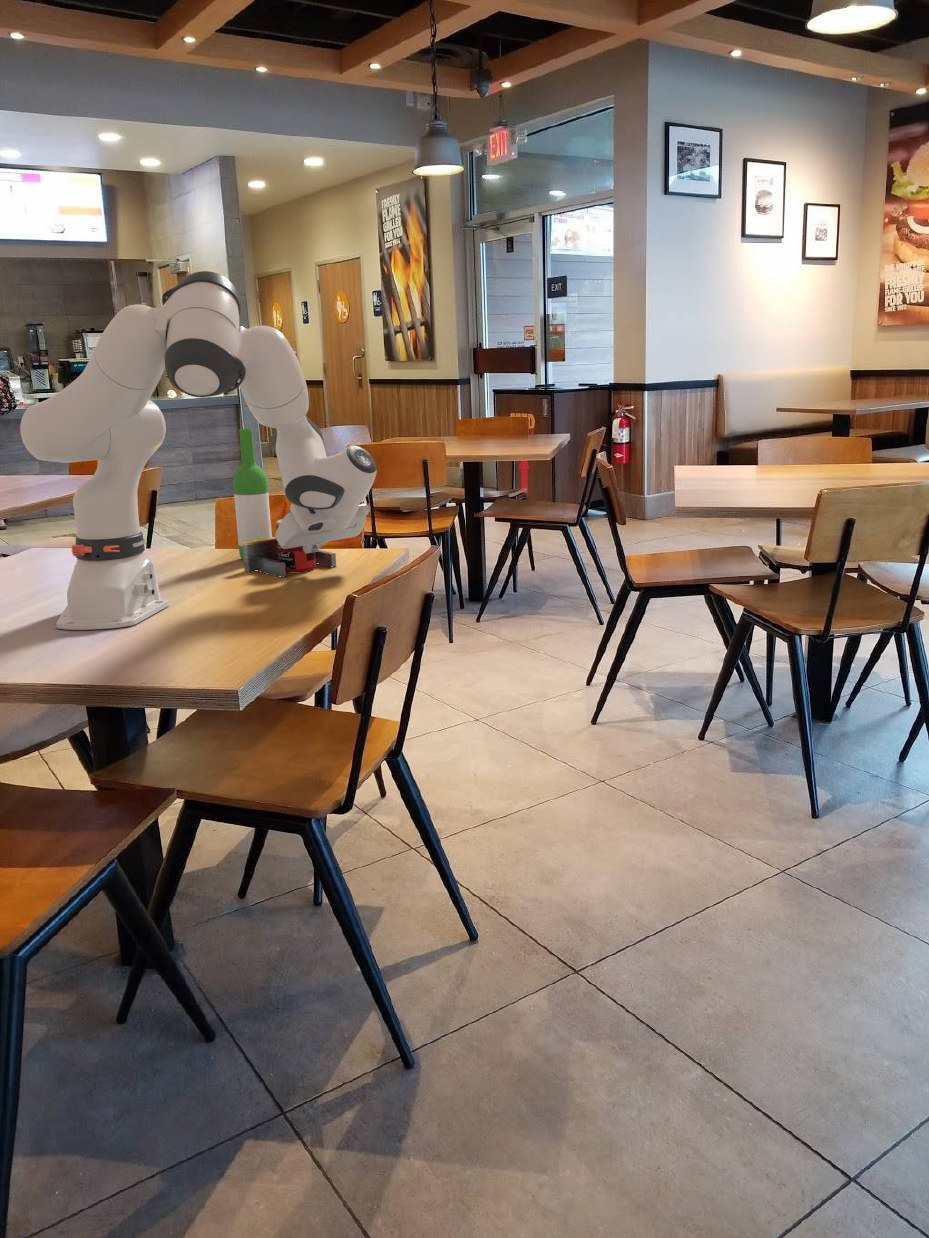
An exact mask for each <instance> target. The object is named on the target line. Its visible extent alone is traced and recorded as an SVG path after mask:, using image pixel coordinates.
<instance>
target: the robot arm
mask: <svg viewBox="0 0 929 1238" xmlns="http://www.w3.org/2000/svg"><path fill="white" fill-rule="evenodd" d="M240 302H241V301H240V297H239V293H238V292H237V289H236V287H235V285H234V284H233V283H232V282H231V281H230V280H229V279H228V278H227V277H226V276H224V275H222V274H219V273H218V272H213V271H208V270H206V271H205V270H204V271H203V270H202V271H197V272H192V273H190V274H189V275H187V276H185V277H184V278H182V279H181V280H180V281H179V282H178V283H177V284H176V285H175V286H173V287H172V288H169V289H167V290H166V291H165V292H164V293H163V294H162V297H161V303H162V305H161V306H160V307H151V306H148V305H144V304H139V303H138V304H137V303H136V304H130V305H127V306H125V307H123V308H122V309H120V310H119V311H118V312H117V314H115V315H114V317H113V318H112V319H111V320H110V322H109V323H108V324H107V325H106V327H105V329H104V331H103V332H102V334H101V335H100V337H99V338H98V339H99V340H98V341H97V343H96V345H95V348H94V350H93V353H92V354H91V357H90V358H89V360H88V361H87V364H86V366H85V367H84V369H83V371H82V372H81V373H80V375H79V376H77V378H75V379H74V380H73V381H72V382H70V383H69V384H68V385H67V386H66V387H64V388H63V389H62V390H60V391H58V392H57V393H55V394H54V395H52V396H51V397H49V398H47V399H45V400H42V401H40V402H37V403H35V404H33V405H30V406H28V407H27V409H26V410H25V412H24V413H23V415H22V417H21V421H20V426H19V429H20V431H19V432H20V437H21V440H22V443H23V445H24V446H25V449H26V450H27V451H28V452H29V453H30V455H31V456H33V457H34V458H35V459H36V460H38V461H43V462H53V463H64V464H67V463H68V464H69V463H78V462H80V463H81V462H88V461H97V466H96V467H97V468H96V469H95V472H94V474H93V475H92V477H91V478H90V479H88V480H87V481H86V482H84V483H83V484H81V485H80V486H79V487H78V488H77V489H76V491H75V492H74V495H73V499H72V506H73V513H74V520H75V528H76V537H75V544H72V546H71V554H72V556H73V557H75V558H76V563H75V565H74V568H73V570H72V573H71V576H70V580H69V583H68V587H67V589H66V600H67V605H66V607H65V608H64V610H63V611H62V613H61V614H60V617H58V619H57V621H56V623H55V625H56V629H61V630H71V631H72V630H73V631H74V630H75V631H76V630H77V631H79V630H81V631H82V630H85V631H86V630H105V629H118V628H126V627H130V626H135V625H137V624H138V623H141V622H143V621H145V620H146V619H147V618H150V617H151V616H153V615H155V614H156V613H158V612H160V611H162V610H164V609H166V608H168V607H169V605H170V604H169V601H168V599H166V598H161V594H160V590H159V589H160V588H159V583H158V577H157V571H156V567H155V563H154V562H153V561H152V560H150V559H149V558H148V557H147V556H146V554H145V553H144V551H145V550H146V547H145V544H146V543H145V538H144V534H143V531H141V527H140V520H139V519H140V517H139V504H138V501H139V499H138V490H139V484H140V479H141V476H142V474H143V471H144V468H145V466H146V464H147V462H148V461H149V459H150V458H151V457H152V456H153V454H154V453H155V452H156V451H157V450H158V449H159V448H160V447H161V446H162V444H163V442H164V440H165V437H166V434H167V433H166V432H167V425H166V418H165V417H164V414H163V412H162V411H161V409H160V408H159V406H158V405H157V404H156V403H155V402H153V401H152V400H150V398H151V397H152V395H153V393H154V391H155V390H156V387H157V386H158V385H159V382H160V380H161V378H162V376H163V374H164V371H165V373H166V376H167V379H168V381H169V382H170V383H169V384H171V386H173V387H174V388H175V389H177V390H178V391H179V392H181V393H183V394H186V395H188V396H191V397H195V398H210V397H216V396H220V395H222V394H224V393H230V392H232V391H235V390H236V389H237V388H238V387H239V389H240V391H241V394H242V396H243V399H244V401H245V404H246V405H247V407H248V409H249V411H250V413H251V414H252V416H253V417H254V418H255V420H256V421H257V422H258V423H259V424H260V425H262V426H264V427H268V428H271V429H274V433H273V436H272V446H273V450H274V452H275V455H276V458H277V463H278V467H279V473H280V477H281V481H282V482H281V483H282V486H283V491H284V494H285V497H286V499H287V500H288V501H289V502H290V503H291V504H290V505H289V510H290V512H289V513H287V514H286V515H285V516H284V517H283V518H282V519H283V520H282V522H281V523H280V525H279V527H278V529H277V528H276V532H275V534H274V535H275V536H274V537H276V539H277V541H278V543H279V544H280V546H281V547H282V548H283V549H288V548H294V547H300V546H303V550H304V552H305V554H307V553H312V552H317V551H318V550H320V549H321V548H322V547H324V546H325V545H326V544H327V543H328V542H332V541H339V540H345V539H349V538H350V539H351V538H355V537H358V535H360V534H361V533H362V531H363V529H364V528H365V526H366V525H365V524H366V522H367V515H369V513H370V511H371V506H370V505H368V504H366V503H362V502H363V501H364V500H365V498H367V496H368V494H369V492H370V490H371V489H372V487H373V484H374V482H375V480H376V476H377V473H378V472H377V471H378V469H377V464H376V462H375V459H374V458H373V457H372V455H371V454H370V453H369V452H368V451H367V450H366V449H365V448H362V447H361V446H359V445H355V444H354V445H352V444H351V445H349V446H348V445H347V447H346V448H345V449H343V450H342V451H341V452H338V453H336V454H332V455H330V456H327V452H326V449H325V440H324V436H323V432H322V431H321V429H320V428H319V427H318V426H317V424H315V423H314V422H313V421H312V420H311V419H310V418H309V417H308V416H307V413H308V411H309V409H310V408H309V407H310V406H309V405H310V402H309V400H310V399H309V393H308V391H309V390H308V385H307V381H306V377H305V375H304V372H303V369H302V367H301V365H300V362H299V359H298V357H297V355H296V353H295V351H294V349H293V347H292V346H291V343H289V341H288V339H287V338H286V336H285V335H284V333H282V332H281V331H280V330H279V329H277V328H276V327H275V328H274V327H272V326H270V325H255V326H251V327H249V328H246V327H244V326H241V325H240V315H241V303H240ZM360 503H361V504H360Z"/></svg>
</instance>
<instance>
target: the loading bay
mask: <svg viewBox="0 0 929 1238" xmlns="http://www.w3.org/2000/svg"><path fill="white" fill-rule="evenodd" d="M242 545H243V556H244V560H243V564H244V565H243V566H244V571H245V572H247V571H248V573H252V572H251V571H254V572H256V571H255V570H258V571H257V572H259V571H261V572H260V573H262V572H265V573H264V574H266V573H268V574H267V575H270V574H271V575H270V576H274V575H275V576H274V577H277V576H281V577H280V578H283V577H282V576H287V573H286V571H285V563H284V562H279V553H278V541H277V539H276V536H272V537H270V538H264V539H258V540H252V541H246V542H242ZM336 555H337V554H336V552H331V551H327V550H322V549H319V550H318V551H317V552H315V559H316V563H319V564H322V565H321V566H324V565H326V566H325V567H328V566H336V567H337V556H336ZM319 564H318V565H319Z"/></svg>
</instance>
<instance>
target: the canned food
mask: <svg viewBox="0 0 929 1238" xmlns="http://www.w3.org/2000/svg"><path fill="white" fill-rule="evenodd" d="M282 520H283V518H281V519H278V520H277V521H275V522H276V524H275V527H276V528H275V529H276V530H277V529H278V527H279V525H280V523H281V522H282ZM278 553H279V562H284V563H285V571H286V572H301V573H306V572H305V571H308V572H311V571H310V570H312V571H314V570H315V569H316V567H317V564H316V559H315V552H312V553H307V554H305V552H304V550H303V546H300V547H294V548H288V549H283V548H282V547H281V546H280V544H279V543H278ZM314 568H315V569H314ZM313 569H314V570H313Z"/></svg>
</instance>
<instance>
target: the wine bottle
mask: <svg viewBox="0 0 929 1238" xmlns="http://www.w3.org/2000/svg"><path fill="white" fill-rule="evenodd" d="M238 432H239V433H238V434H239V444H240V456H241V457H240V458H241V464H240V466H238V468H237V469H236V471H235V472H234V475H233V478H232V479H233V480H232V484H233V486H232V487H233V496H234V499H233V500H234V509H235V518H236V519H235V520H236V530H237V533H236V534H237V540H238V541H237V544H238V550H239V556H240V558H241V560H242V559H243V560H242V561H244V556H243V545H242V542H246V541H252V540H258V539H264V538H270V537H273V535H272V522H271V510H270V499H269V489H268V488H269V486H268V478H267V475H266V473H265V471H264V470H263V468H261V467H260V466H258V465H257V463H256V455H255V447H254V445H255V444H254V443H255V442H254V434H253V432H254V431H253V429H252V428H240V429H239V430H238Z"/></svg>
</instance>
